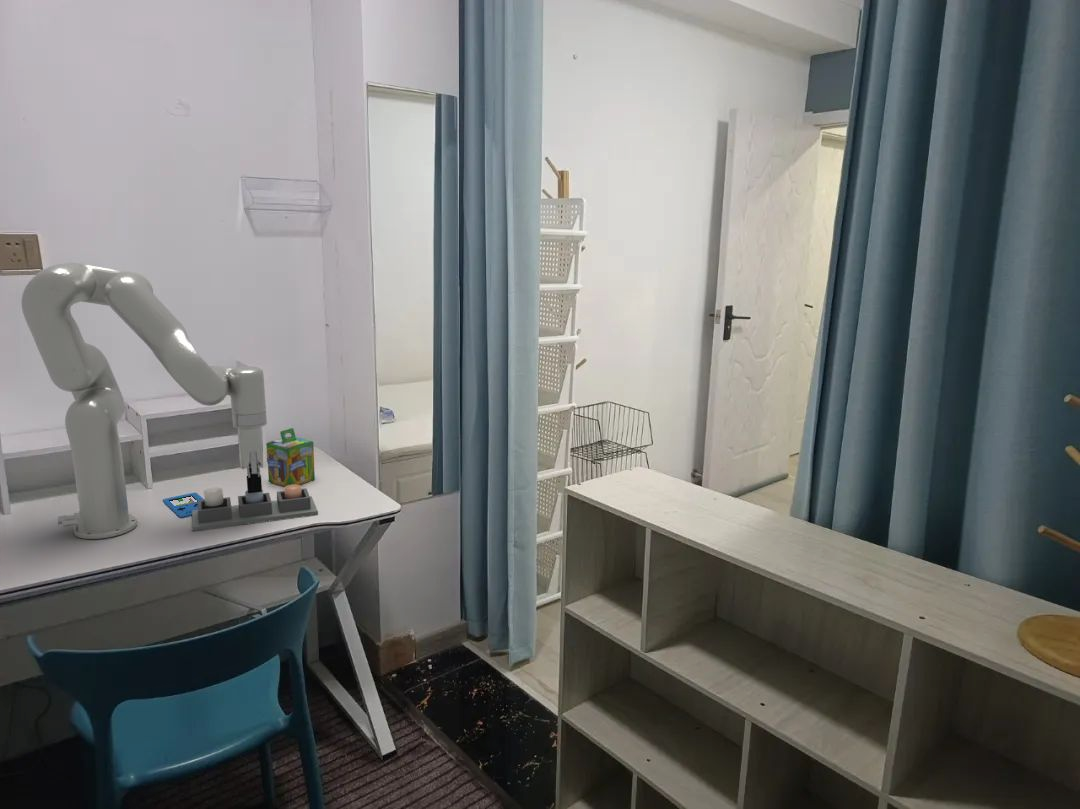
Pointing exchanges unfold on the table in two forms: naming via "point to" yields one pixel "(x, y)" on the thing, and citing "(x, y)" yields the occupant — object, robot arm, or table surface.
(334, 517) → the table surface
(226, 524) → the grey socket tray
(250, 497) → the slate key
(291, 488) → the terracotta key
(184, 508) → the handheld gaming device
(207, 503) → the ivory key
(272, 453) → the chalk box
